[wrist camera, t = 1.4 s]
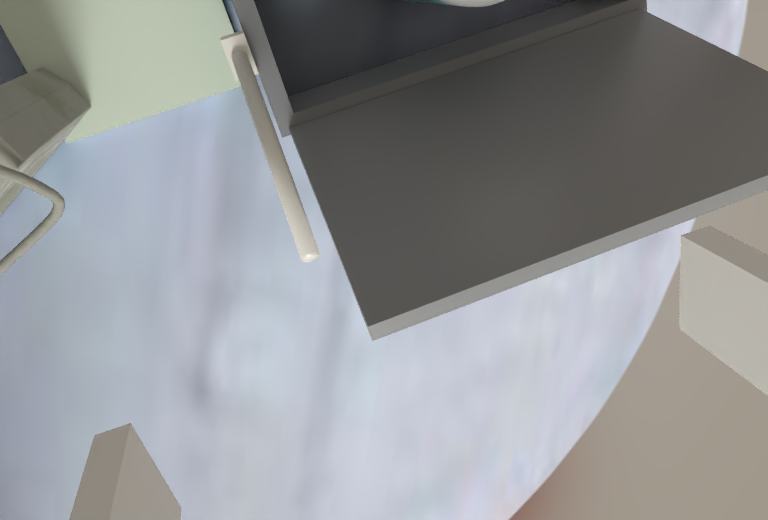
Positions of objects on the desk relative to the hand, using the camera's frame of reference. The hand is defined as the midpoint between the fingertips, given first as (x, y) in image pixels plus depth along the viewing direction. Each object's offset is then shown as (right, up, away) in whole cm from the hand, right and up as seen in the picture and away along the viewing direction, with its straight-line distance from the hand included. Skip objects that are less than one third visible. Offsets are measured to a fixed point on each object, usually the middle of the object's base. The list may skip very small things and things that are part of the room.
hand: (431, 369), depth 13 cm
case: (0, +19, +20) cm, 28 cm away
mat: (-16, +16, +18) cm, 28 cm away
